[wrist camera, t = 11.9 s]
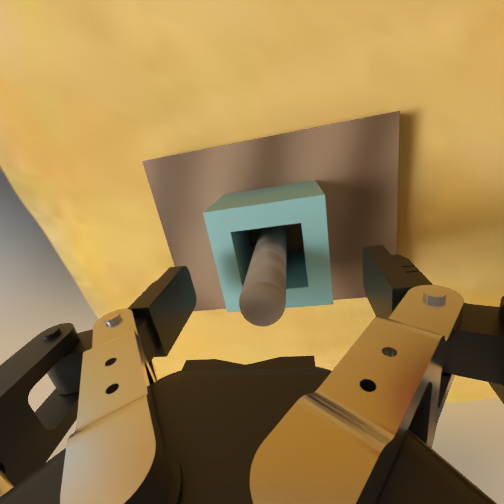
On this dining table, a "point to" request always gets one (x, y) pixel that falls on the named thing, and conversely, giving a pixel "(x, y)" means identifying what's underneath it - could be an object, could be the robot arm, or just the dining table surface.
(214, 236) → the bead
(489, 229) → the dining table surface
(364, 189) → the stand
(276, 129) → the dining table surface
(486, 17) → the dining table surface
